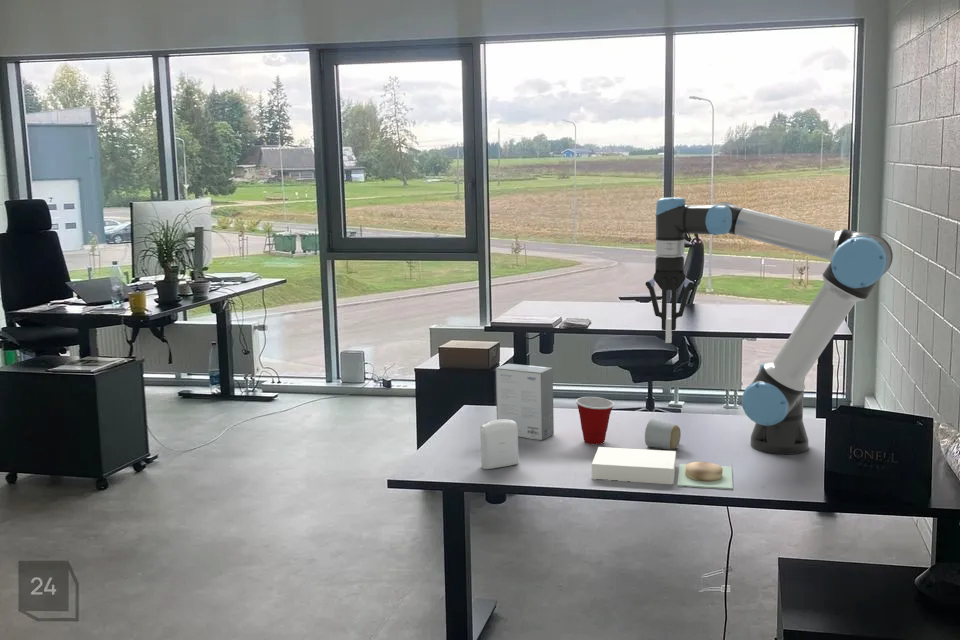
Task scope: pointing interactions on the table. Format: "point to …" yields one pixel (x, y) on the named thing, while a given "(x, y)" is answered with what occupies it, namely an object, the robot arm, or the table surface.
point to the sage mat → (719, 484)
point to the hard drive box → (526, 399)
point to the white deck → (634, 465)
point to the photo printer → (499, 444)
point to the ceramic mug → (662, 435)
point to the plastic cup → (594, 418)
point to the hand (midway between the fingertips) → (668, 341)
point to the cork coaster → (703, 471)
